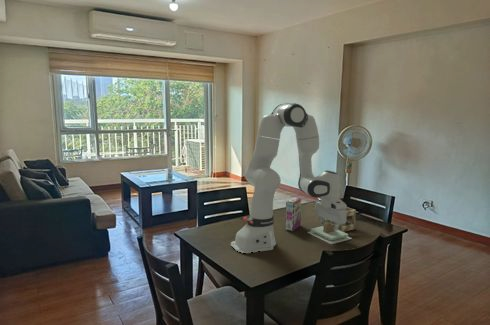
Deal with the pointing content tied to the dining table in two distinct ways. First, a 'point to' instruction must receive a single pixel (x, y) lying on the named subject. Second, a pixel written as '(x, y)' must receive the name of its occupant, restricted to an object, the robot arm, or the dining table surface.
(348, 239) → the mat
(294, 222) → the candy bar box
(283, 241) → the dining table surface
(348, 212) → the crate
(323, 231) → the lid
